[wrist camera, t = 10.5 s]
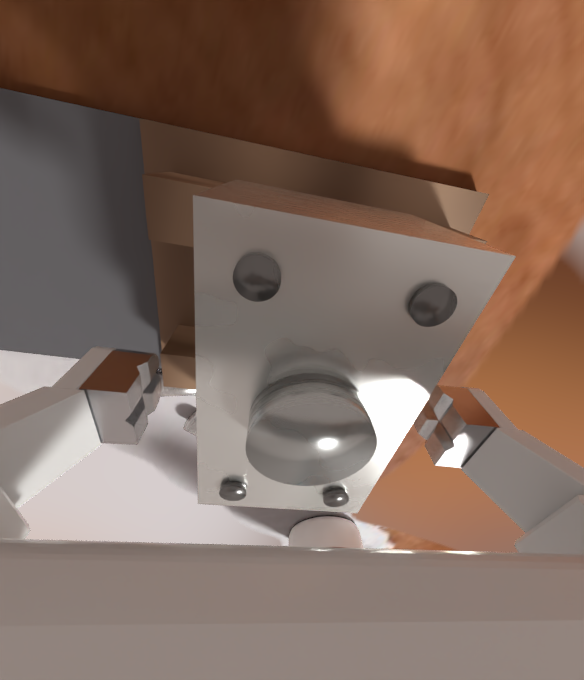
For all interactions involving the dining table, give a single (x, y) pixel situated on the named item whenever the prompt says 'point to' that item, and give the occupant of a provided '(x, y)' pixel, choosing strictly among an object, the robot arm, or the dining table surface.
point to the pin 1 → (174, 390)
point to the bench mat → (73, 231)
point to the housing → (320, 339)
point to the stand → (267, 169)
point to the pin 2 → (191, 424)
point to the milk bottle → (325, 533)
